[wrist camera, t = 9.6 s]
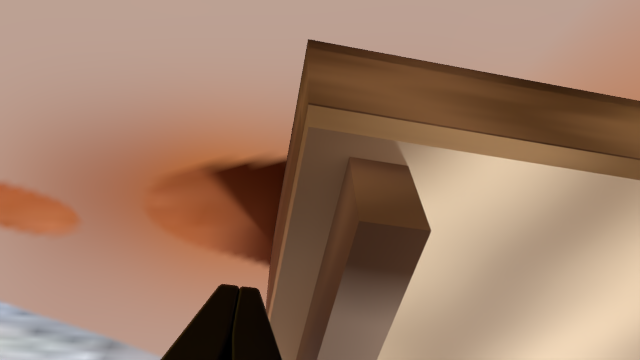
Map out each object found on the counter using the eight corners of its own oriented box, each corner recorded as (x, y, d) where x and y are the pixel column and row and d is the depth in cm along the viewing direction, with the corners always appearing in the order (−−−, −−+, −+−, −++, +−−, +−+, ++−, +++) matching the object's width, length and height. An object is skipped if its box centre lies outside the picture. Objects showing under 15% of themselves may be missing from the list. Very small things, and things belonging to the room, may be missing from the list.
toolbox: (674, 107, 15) (800, 185, 11) (557, 280, 19) (619, 380, 15) (307, 39, 13) (308, 102, 9) (272, 244, 17) (262, 344, 14)
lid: (804, 187, 11) (956, 281, 8) (620, 382, 15) (683, 482, 13) (308, 104, 9) (309, 187, 7) (261, 346, 14) (251, 452, 11)
